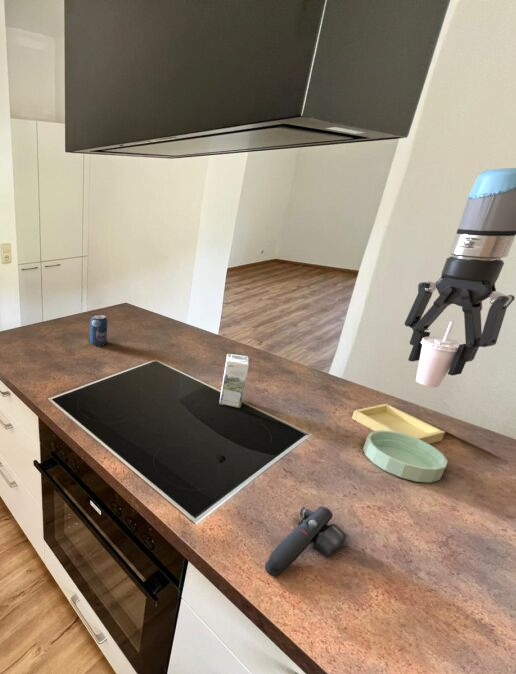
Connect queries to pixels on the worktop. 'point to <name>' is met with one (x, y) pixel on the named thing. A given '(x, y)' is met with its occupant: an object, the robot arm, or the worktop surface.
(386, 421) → the tray
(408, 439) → the bowl
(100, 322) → the soda can
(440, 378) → the smoothie
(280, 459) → the worktop surface
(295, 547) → the can opener
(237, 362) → the syrup box
